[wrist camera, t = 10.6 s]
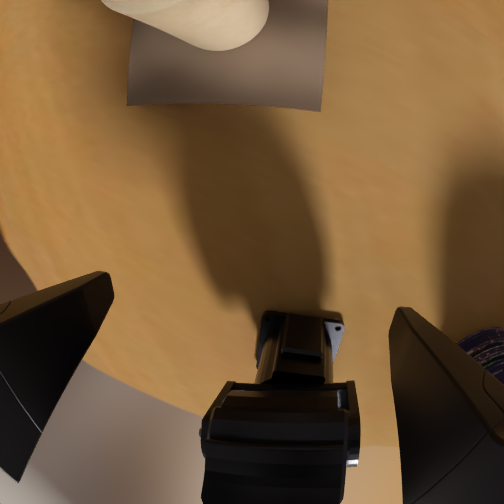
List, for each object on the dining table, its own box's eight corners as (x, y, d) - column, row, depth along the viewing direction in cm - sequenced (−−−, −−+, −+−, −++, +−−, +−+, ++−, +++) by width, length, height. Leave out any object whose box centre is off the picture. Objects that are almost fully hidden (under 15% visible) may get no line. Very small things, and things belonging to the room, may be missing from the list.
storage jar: (505, 380, 23) (544, 486, 10) (430, 407, 26) (451, 527, 13) (520, 313, 20) (590, 433, 7) (433, 344, 23) (476, 496, 10)
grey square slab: (319, 111, 17) (320, 111, 16) (141, 105, 19) (126, 105, 17) (328, -47, 12) (329, -60, 10) (157, -39, 14) (144, -48, 12)
